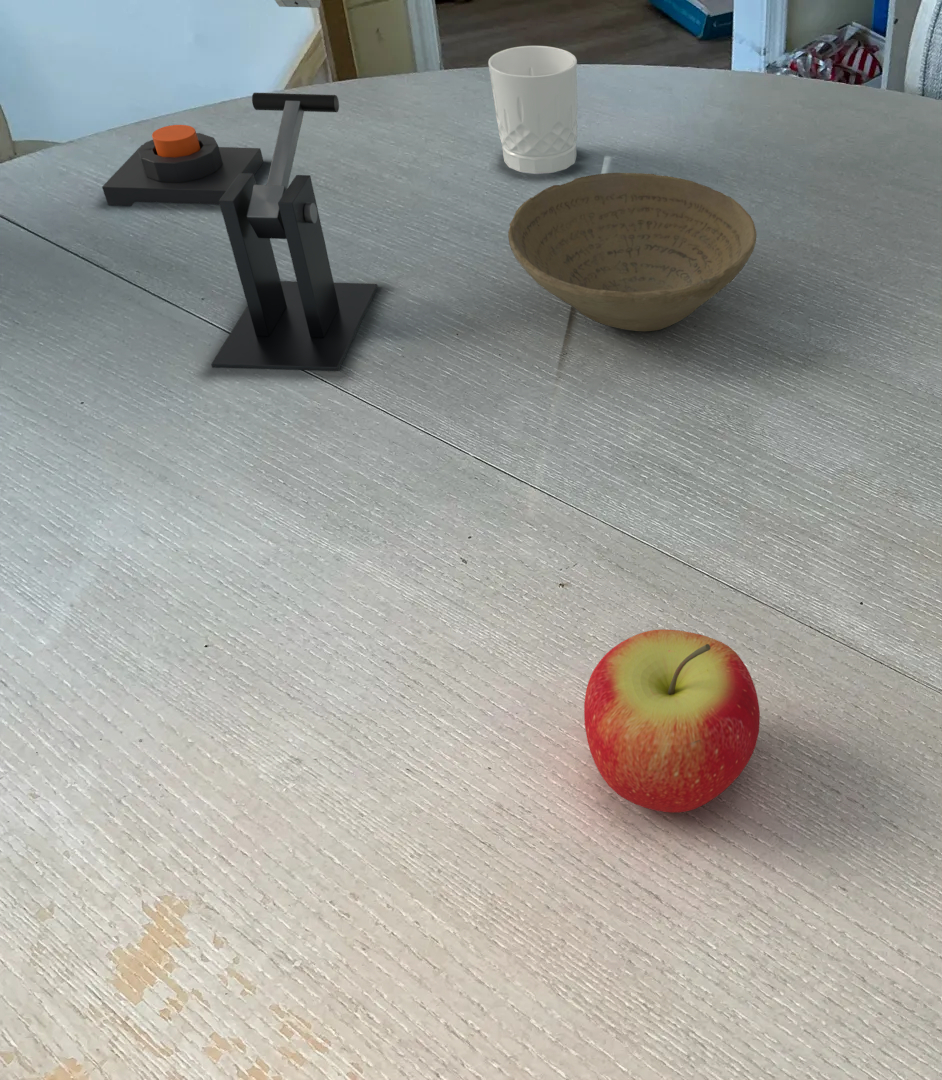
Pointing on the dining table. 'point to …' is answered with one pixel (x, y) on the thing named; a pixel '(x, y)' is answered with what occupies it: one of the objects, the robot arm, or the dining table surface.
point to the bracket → (288, 289)
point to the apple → (671, 719)
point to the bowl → (632, 246)
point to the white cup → (536, 107)
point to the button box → (180, 174)
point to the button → (175, 141)
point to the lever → (282, 156)
